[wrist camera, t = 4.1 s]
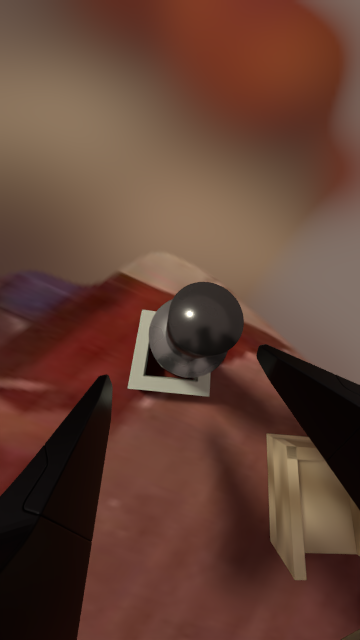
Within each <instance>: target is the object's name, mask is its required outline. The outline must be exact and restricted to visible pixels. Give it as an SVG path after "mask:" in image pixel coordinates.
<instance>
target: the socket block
mask: <svg viewBox="0 0 360 640" xmlns="http://www.w3.org/2000/svg"><path fill="white" fill-rule="evenodd" d="M155 313H156V312H155V311H148V310H142V314H141V319H140V324H139V330H138V335H137V341H136V346H135V351H134V357H133V362H132V367H131V373H130V378H129V384H128V388H129V389H139V390H149V391H159V392H169V393H178V394H188V395H198V396H208V397H209V394H210V375H211V372H210V373H208V374H206V375H204V376H200V377H194V378H193V380H189V379H180V378H171V377H162V376H152V375H145V373H146V367H147V361H148V355H149V349H150V344H149V327H150V323H151V321H152V318H153V316H154V315H155Z"/></svg>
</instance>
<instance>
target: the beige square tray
mask: <svg viewBox="0 0 360 640" xmlns="http://www.w3.org/2000/svg"><path fill="white" fill-rule="evenodd" d="M267 461H268V490H269V519H270V541H271V543H272V545H273V546H274V548H275V549H276V551H277V553H278V554H279V556H280V557H281V559H282V560H283V562H284V564H285V565H286V567H287V568H288V570H289V572H290V573H291V575H292V576H293V578H294V580H307V579H306V566H305V553H326V554H358V555H359V556H360V510H359V509H358V507H357V506H356V504H355V503H354V501H353V500H352V499H351V497H350V496H349V494H348V493H347V491H346V490H345V489H344V487H343V486H342V484H341V483H340V481H339V480H338V479H337V477H336V476H335V474H334V473H333V471H332V470H331V468H330V467H329V466H328V464H327V463H326V461H325V460H324V458H323V457H322V455H321V454H320V452H319V451H318V450H317V448H316V447H315V445H314V444H313V442H312V441H311V440H310V438H309V437H303V436H291V435H279V434H268V433H267Z"/></svg>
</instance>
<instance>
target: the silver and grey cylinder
mask: <svg viewBox="0 0 360 640" xmlns="http://www.w3.org/2000/svg"><path fill="white" fill-rule="evenodd" d="M243 324H244V320H243V313H242V310H241V307H240V305H239V303H238V301H237V300H236V298H235V297H234V296H233V295H232V294H231V293H230V292H229V291H228V290H226V289H225V288H223V287H221V286H219V285H217V284H214V283H209V282H197V283H193V284H190V285H188V286H186V287H184V288H183V289H181V290H180V291H179V292H178V293H177V294H176V295H175V297H174V298H173V299H172V300H170V301H168V302H167V303H165V304H164V305H162V306H161V307H160V308H159V309H158V310H157V312H156V313H155V315H154V316H153V318H152V321H151V323H150V327H149V344H150V348H151V351H152V353H153V355H154V357H155V359H156V360H157V362H158V363H159V365H160V366H161V367H163V368H164V369H166V370H167V371H169V372H171V373H173V374H175V375H178V376H181V377H187V378H194V377H200V376H204V375H206V374H208V373H210V372H212V371H213V370H215V369H216V368H217V367H218V366H219V365H220V364H221V363H222V361H223V360H224V358H225V356H226V354H227V351H228V350H229V349H231V348H232V347H233V346H234V345H235V344H236V343H237V341H238V340H239V338H240V336H241V334H242V331H243Z"/></svg>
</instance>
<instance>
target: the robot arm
mask: <svg viewBox="0 0 360 640" xmlns="http://www.w3.org/2000/svg"><path fill="white" fill-rule="evenodd" d="M257 359H258V361H259V363H260V365H261V367H262V368H263V370H264V372H265V374H266V375H267V377H268V379H269V381H270V382H271V384H272V385H273V386H274V388H275V389H276V391H277V392H278V394H279V395H280V396H281V398H282V399H283V401H284V402H285V404H286V405H287V407H288V408H289V409H290V411H291V412H292V414H293V415H294V417H295V418H296V419H297V421H298V422H299V424H300V425H301V427H302V428H303V430H304V431H305V432H306V434H307V435H308V437H309V438H310V440H311V441H312V442H313V444H314V445H315V447H316V448H317V450H318V451H319V452H320V454H321V455H322V457H323V458H324V460H325V461H326V463H327V464H328V466H329V467H330V468H331V470H332V471H333V473H334V474H335V476H336V477H337V479H338V480H339V481H340V483H341V484H342V486H343V487H344V489H345V490H346V491H347V493H348V494H349V496H350V497H351V499H352V500H353V501H354V503H355V504H356V506H357V507H358V509H359V510H360V385H358V384H356V383H354V382H351V381H349V380H346V379H344V378H342V377H340V376H337V375H334V374H333V373H330V372H328V371H326V370H324V369H321V368H319V367H317V366H315V365H312V364H310V363H308V362H305V361H303V360H301V359H299V358H296V357H294V356H292V355H289V354H287V353H285V352H283V351H280V350H278V349H276V348H273V347H271V346H269V345H266V344H264V345H260V346H259V347H258V351H257ZM111 410H112V383H111V381H110V378H109V376H108V375H102V376H99V377H98V378H97V380H96V381H95V382H94V383H93V385H92V386H91V387H90V388H89V390H88V391H87V392H86V393H85V395H84V396H83V397H82V398H81V400H80V401H79V402H78V403H77V405H76V406H75V407H74V408H73V409H72V411H71V412H70V413H69V414H68V416H67V417H66V418H65V419H64V421H63V422H62V423H61V424H60V426H59V427H58V428H57V429H56V431H55V432H54V433H53V434H52V436H51V437H50V438H49V439H48V441H47V442H46V443H45V445H44V446H43V447H42V448H41V449H40V451H39V452H38V453H37V454H36V456H35V457H34V458H33V459H32V460H31V462H30V463H29V464H28V465H27V466H26V468H25V469H24V470H23V471H22V472H21V474H20V475H19V476H18V477H17V478H16V479H15V480H14V482H13V483H12V484H11V485H10V486H9V487H8V488H7V489H6V491H5V492H4V493H3V494H2V495H1V496H0V640H77V635H78V628H79V622H80V615H81V609H82V602H83V596H84V590H85V583H86V577H87V570H88V564H89V557H90V551H91V544H92V542H91V541H92V537H93V531H94V525H95V518H96V512H97V505H98V499H99V493H100V486H101V480H102V473H103V467H104V460H105V454H106V448H107V441H108V435H109V428H110V422H111ZM341 640H360V629H359V630H357V631H355V632H354V633H352V634H350V635H348V636H346V637H345V638H343V639H341Z"/></svg>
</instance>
